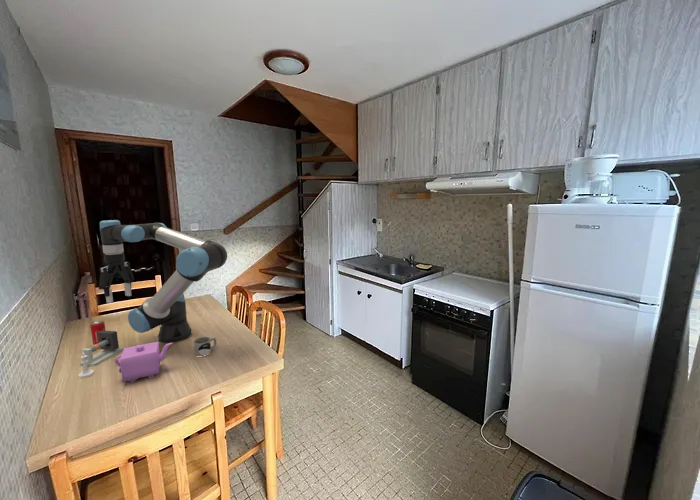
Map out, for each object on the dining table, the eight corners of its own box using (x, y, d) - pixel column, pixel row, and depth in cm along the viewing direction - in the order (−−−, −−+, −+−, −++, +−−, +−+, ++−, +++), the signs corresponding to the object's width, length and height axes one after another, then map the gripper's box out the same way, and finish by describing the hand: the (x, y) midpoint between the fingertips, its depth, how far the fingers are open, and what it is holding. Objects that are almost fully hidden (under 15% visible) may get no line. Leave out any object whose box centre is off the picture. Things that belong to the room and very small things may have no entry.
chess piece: (93, 369, 123) (89, 347, 121) (95, 374, 120) (92, 351, 118) (77, 375, 119) (73, 352, 118) (79, 379, 116) (75, 356, 115)
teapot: (114, 387, 112) (110, 356, 110) (119, 373, 120) (115, 345, 118) (175, 372, 122) (172, 344, 120) (175, 361, 130) (173, 334, 128)
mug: (199, 358, 132) (198, 345, 131) (192, 354, 136) (191, 340, 135) (220, 350, 140) (219, 337, 139) (213, 346, 144) (212, 333, 143)
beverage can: (99, 348, 140) (95, 325, 139) (90, 347, 141) (87, 324, 140) (110, 343, 145) (106, 320, 144) (101, 342, 147) (98, 319, 145)
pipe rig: (109, 349, 140) (107, 334, 139) (122, 350, 139) (121, 335, 138) (80, 365, 126) (77, 349, 125) (94, 366, 126) (92, 350, 124)
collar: (105, 346, 138) (102, 330, 136) (118, 347, 137) (116, 331, 136) (100, 349, 135) (97, 332, 134) (114, 350, 135) (112, 333, 133)
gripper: (126, 249, 148) (131, 291, 152) (82, 257, 127) (90, 306, 130) (140, 249, 147) (145, 292, 151) (98, 257, 126) (105, 307, 130)
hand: (119, 299), depth 141 cm, fingers open, 9 cm apart
